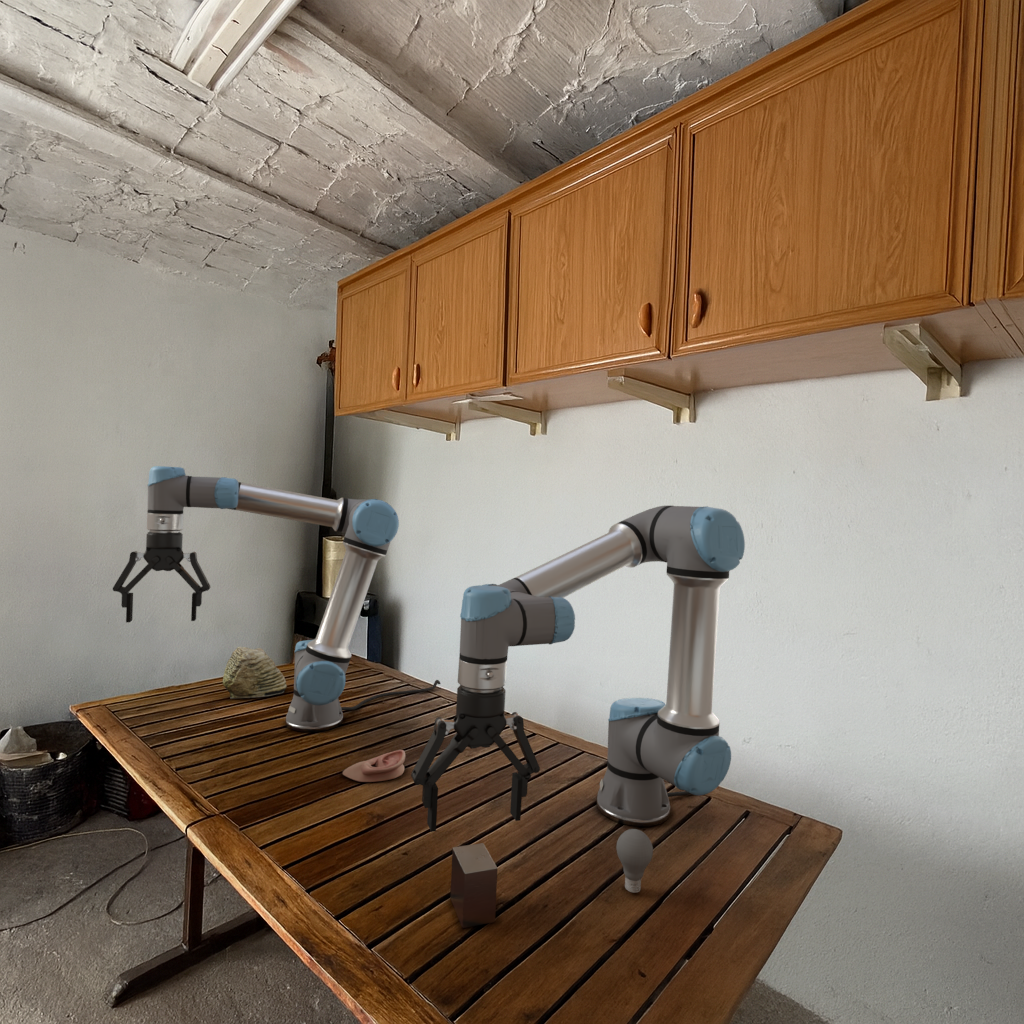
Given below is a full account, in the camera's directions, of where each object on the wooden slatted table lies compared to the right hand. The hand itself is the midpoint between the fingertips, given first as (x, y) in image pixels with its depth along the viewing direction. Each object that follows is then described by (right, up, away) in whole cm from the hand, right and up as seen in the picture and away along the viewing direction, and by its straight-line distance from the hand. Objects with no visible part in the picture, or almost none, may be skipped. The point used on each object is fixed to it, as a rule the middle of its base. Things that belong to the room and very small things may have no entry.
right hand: (474, 821), depth 99 cm
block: (0, -14, 0) cm, 14 cm away
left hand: (-77, +22, +52) cm, 96 cm away
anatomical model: (-26, -12, +48) cm, 56 cm away
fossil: (-75, -9, +99) cm, 125 cm away
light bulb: (+26, -15, +7) cm, 31 cm away
